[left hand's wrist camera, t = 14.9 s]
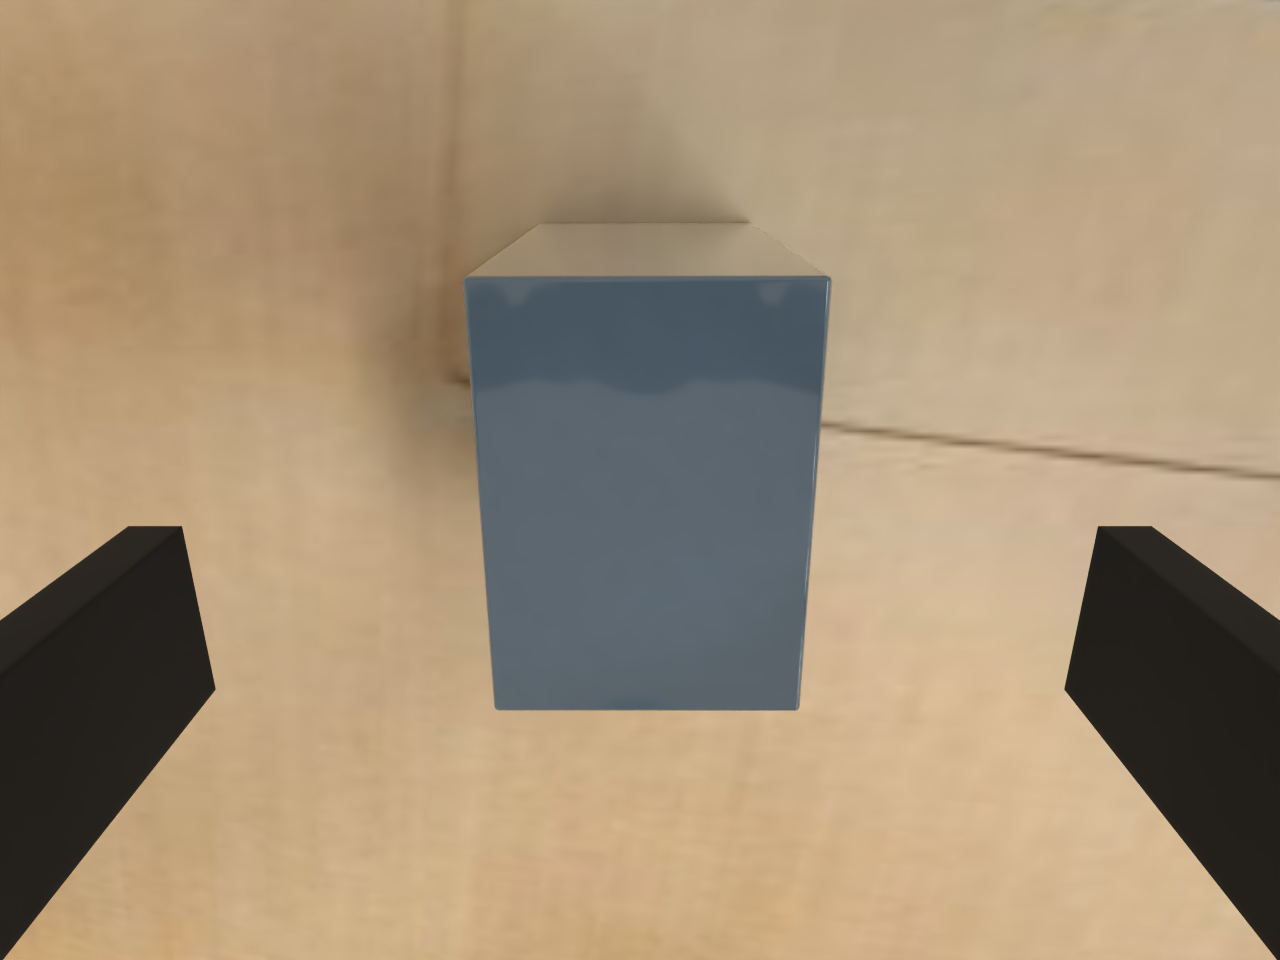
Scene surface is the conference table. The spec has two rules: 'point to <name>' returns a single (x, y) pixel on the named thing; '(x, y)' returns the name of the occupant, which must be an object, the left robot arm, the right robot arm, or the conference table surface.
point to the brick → (647, 463)
